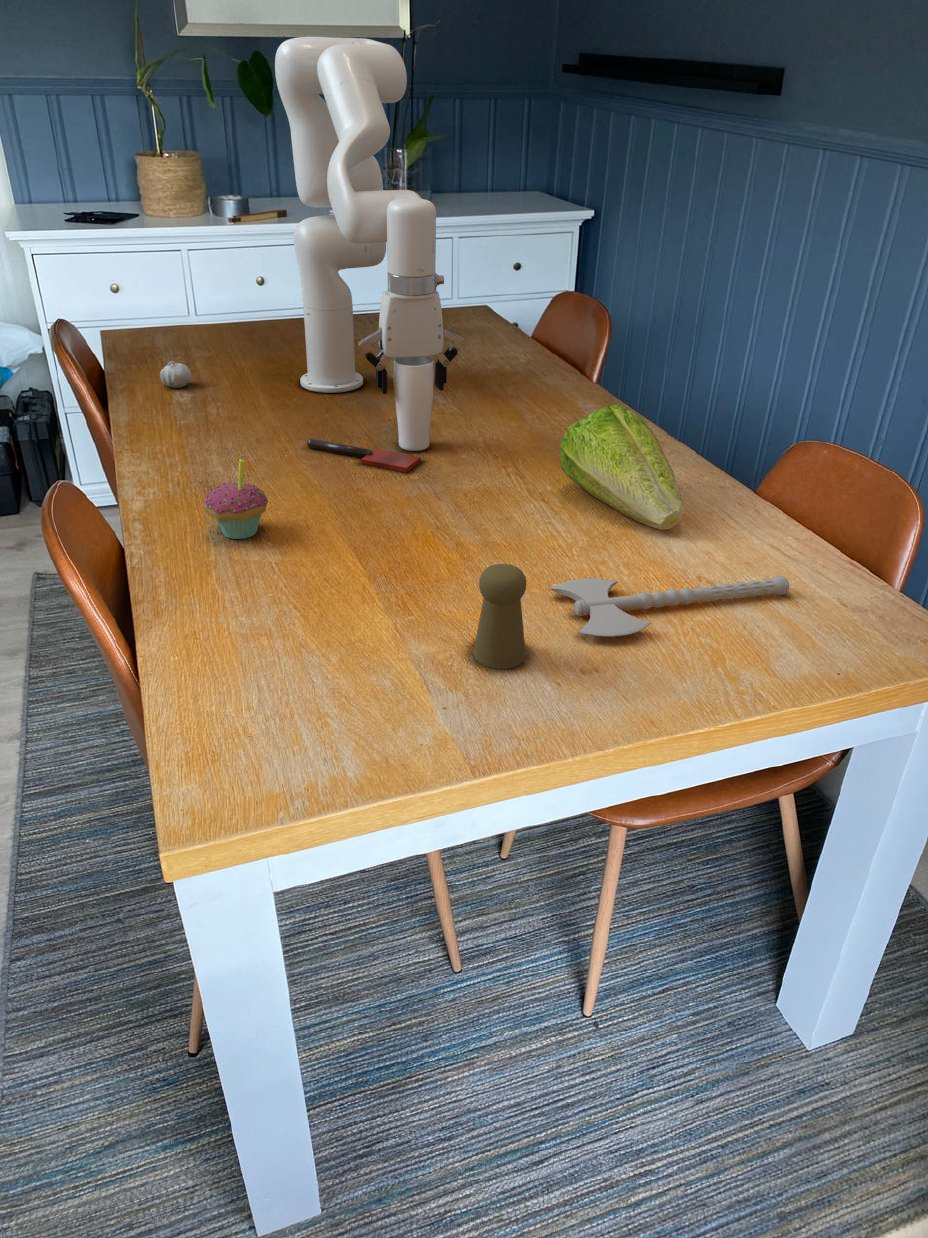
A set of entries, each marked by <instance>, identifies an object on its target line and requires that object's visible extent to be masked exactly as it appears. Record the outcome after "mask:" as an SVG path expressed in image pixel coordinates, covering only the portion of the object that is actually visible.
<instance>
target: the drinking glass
mask: <svg viewBox="0 0 928 1238" xmlns="http://www.w3.org/2000/svg"><path fill="white" fill-rule="evenodd" d="M392 381H393V382H392V383H393V394H394V402H395V413H396V422H397V423H396V425H397V435H398V438H397V439H398V446H399V447H400V448H401V449H402V450H404V451H407V452H421V451H425V450H426V449H428V447H429V446H430V441H431V437H430V436H431V424H432V423H431V422H432V412H433V402H434V391H435V361H434V359H433V358H432V357H416V358H396V359H394V358H393V366H392Z"/></svg>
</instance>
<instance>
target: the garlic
mask: <svg viewBox="0 0 928 1238" xmlns="http://www.w3.org/2000/svg"><path fill="white" fill-rule="evenodd" d="M159 377H160V380H161V382H162V384H164V385H165V386H166V387H167V386H168V387H169V388H172V389H173V388H175V389H180V388H184V387H186V386H187V385H188V384H189V383H190V382H191V380H192V372H191V369H190V368H189V366H187V365H186V364H184V363H179V362H175V361H174V360H170V361H169V362H168V363H167V365H165V366H164V367H163V368H162V369H161V370H160V371H159Z"/></svg>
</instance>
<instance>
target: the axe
mask: <svg viewBox="0 0 928 1238" xmlns="http://www.w3.org/2000/svg"><path fill="white" fill-rule="evenodd" d="M617 584H619V581H616V580H611V579H606V578H595V577H594V578H591V577H590V578H589V577H588V578H577V579H570V580H567V581H563V582H560V583H558V584H556V585H554V586H553V587H551V588H549V590H550V591H552V592H555V593H558V594H561V595H563V596H566V597H568V598H570V599H572V600H574V601H575V602H574V605H573V610H574V613H575V615H576V616H578V617H581V616H582V617H584V616H586V615H588V616H589V620H588V622H587V623H586V624H585V625H584V626H583V627H582V628H581V629H580V630H579V631H578V633H579V634H584V635H589V636H595V637H621V636H629V635H632V634H635V633H639V632H641V631H643V630H645V629H647V628H648V627H649V626H650V625H652V623H651V622H649V621H647V620H644V619H641V618H638V617H636V616H633V615H631V614H629V613H627V612H625V611H627V610H628V611H629V610H636V609H637V610H638V609H641V610H648V609H650V608H656V609H657V608H663V607H664V606H669V607H675V606H677V605H681V604H682V605H690V604H692V603H697V602H705V601H707V602H708V601H711V602H715V601H718V600H730V599H732V598H737V599H742V598H745V597H757V596H759V595H760V596H761V595H764V596H768V595H774V596H784V595H786V594H788V592H789V590H790V582H789V579H788V578H787V577H786V576H784V575H778V576H773V577H771V578H770V579H769V578H767V579H763V580H750V581H749V582H743V581H739V582H736V583H723V584H722V585H716V584H712V585H709V586H705V587H696V588H690V587H683V588H681V589H674V588H673V589H667V590H666V591H662V590H655V591H653V592H649V593H648V592H639V594H633V595H624V596H615V597H609V593H610V591H611V590H612V589H613V587H615V586H616V585H617Z"/></svg>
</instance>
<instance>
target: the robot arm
mask: <svg viewBox="0 0 928 1238" xmlns="http://www.w3.org/2000/svg"><path fill="white" fill-rule="evenodd" d="M274 57H275V58H274V73H275V81H276V86H277V90H278V93H279V97H280V100H281V103H282V106H283V108H284V110H285V113H286V116H287V120H288V123H289V129H290V139H291V140H290V141H291V149H292V157H293V169H294V176H295V185H296V191H297V194H298V197H299V200H300V201H301V203H302V204H303V205H305V206H307V207H310V208H317V209H318V208H320V209H321V208H324V209H325V208H331V209H332V212H333V214H327V215H316V216H311V217H307V218H304V219H302V220H301V221H300V222H299V223H298V224H297V225H296V226H295V228H294V231H293V247H294V252H295V255H296V260H297V265H298V270H299V276H300V283H301V295H302V306H303V307H302V308H303V322H304V336H305V337H304V338H305V339H304V340H305V353H306V354H305V355H306V369H307V373H305V374H303V375H302V376H300V380H299V383H300V384H299V385H300V386H301V388H303V389H306V390H307V391H312V392H316V393H324V394H335V393H337V394H338V393H346V392H350V391H353V390H354V391H355V390H356V389H359V388H360V387H361V386H362V385H364V377H363V375H361V374H360V373H359V372H356V361H355V360H356V359H355V358H356V357H355V334H354V331H355V330H354V309H353V307H354V306H353V305H354V304H353V295H352V292H351V291H352V290H351V289H350V287H349V285H348V284H347V282H345V280H344V279H343V278H342V277H341V276H340V275H341V274H340V273H339V272H340V271H343V270H348V269H358V268H359V269H360V268H370V267H376V266H378V265H380V264H381V263H382V262H383V261H384V259H385V257H387V258H386V261H387V262H386V263H387V267H386V268H387V269H386V270H387V290H383V291H382V294H381V299H380V307H379V317H378V318H379V319H378V329H377V330H376V331H374V332H372V333H371V334H369V335H368V336H365V337H364V338H362V339H361V340H359V341H358V347H359V348H360V350H361V352H362V354H363V355H364V358H365V359H366V360H367V362H369V364H371V365H372V366H373V367H374V368H375V386H376V388H377V389H379V391H380V393H381V394H382V395H387V394H388V371H387V369H386V366H387V365H388V364H389V362H390V361H391V360H392V359H393V360H394V359H396V358H416V357H430V358H432V357H435V358H436V359H437V360H436V362H434V386H435V387H436V388H437V390H438V391H444V390H445V389H444V387H445V384H447V382H448V381H447V380H448V377H447V376H448V367H449V366H450V363H451V362H452V361H453V359H454V358H455V357H456V356H458V353H459V350H460V349H461V348H462V347H461V346H462V345H463V343H464V338H463V337H462V336H461V335H459V334H457V333H456V332H454V331H452V330H449V329H448V328H445V327H444V323H443V322H444V321H443V311H442V304H441V297H440V293H439V291H438V290H437V288H438V286H440V285H444V284H445V276H444V275H440V274H438V273H437V272H436V262H437V261H436V258H437V210H436V206H435V205H434V203H433V202H432V201H430V200H428V199H424V198H422V197H421V195H419V194H418V193H417V192H416V191H413V190H411V189H389V190H387V189H386V190H384V184H383V175H382V171H381V167H380V165H379V162H378V159H376V157H375V156H374V155H376V154H377V153H379V152H380V151H381V150H382V149H383V148H384V147H385V146H386V145H387V143H388V141H389V140H390V135H391V127H390V123H389V121H388V117H387V115H386V112H385V109H384V106H383V104H394V103H397V102H399V101H400V100H402V98H403V97H404V95H405V93H406V90H407V84H408V76H407V74H408V73H407V69H406V65H405V62H404V60H403V57H402V55H401V54H400V52H399V51H398V49H396V48H395V47H394V46H392V45H390V44H388V43H385V42H380V41H377V40H374V39H370V38H363V37H361V38H360V37H358V38H357V37H332V36H331V37H330V36H299V37H293V38H289V39H286V40H284V41H283V42H281V44H280V45H279V46H278V47H277V50H276V53H275V56H274ZM320 95H323V97H322V96H320ZM323 98H324V99H323ZM386 255H387V256H386ZM444 339H447V340H449V341H451V344H450V346H449V347H448V348H447V349H446V350H445V351H444V343H445V341H444ZM377 343H378V348H379V350H380V352H379V353H378V354H377V355H375V354H373V352H372V350H371V347H372V346H374V345H375V344H377ZM443 351H444V352H443Z"/></svg>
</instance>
